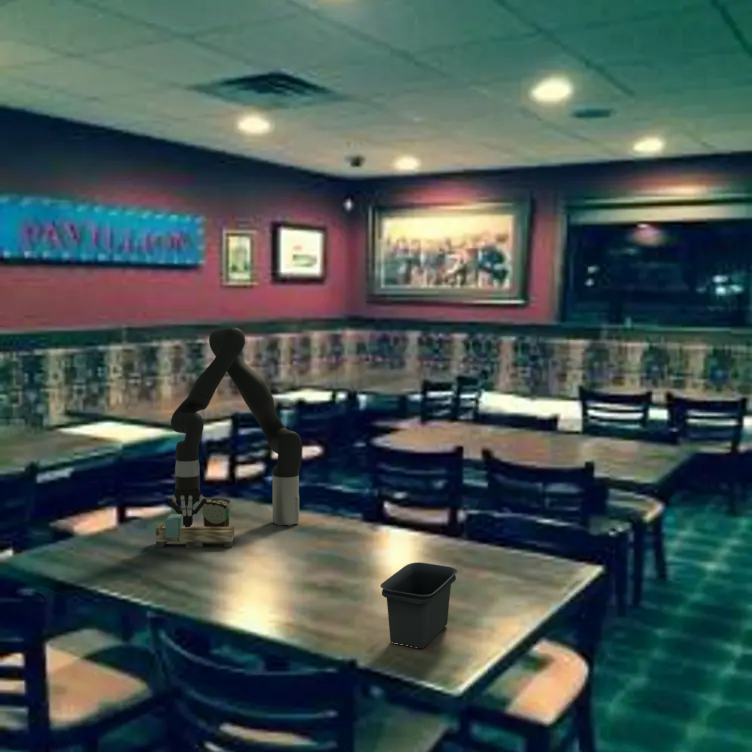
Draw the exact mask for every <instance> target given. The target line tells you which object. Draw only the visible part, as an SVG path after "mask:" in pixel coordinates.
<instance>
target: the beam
mask: <svg viewBox="0 0 752 752" xmlns="http://www.w3.org/2000/svg"><path fill="white" fill-rule="evenodd" d="M165 530H166V528H165V526H164V523H163V522H159V524H158V525H157V526H156V528H155V545H156V546H155V548H156V547H164V546H165V547H166V546H167V544H168V542H170V543H171V542H172V543H173V542H176V543H177V542H178V543H179V542H184V543H185V549H202V548H203V547H204V545H205V543H207V542H214V543H215V542H217V543H219V542H221V543H222V542H224V543H223V545H224V547H232V546H233V547H234V545H235V526H229V527H204V526H190V527H185V526H183V527H181V530H179V537H178V538H165ZM166 543H167V544H166ZM202 546H203V547H202ZM165 547H164V548H165ZM224 547H223V548H224ZM233 547H232V548H233Z"/></svg>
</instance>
